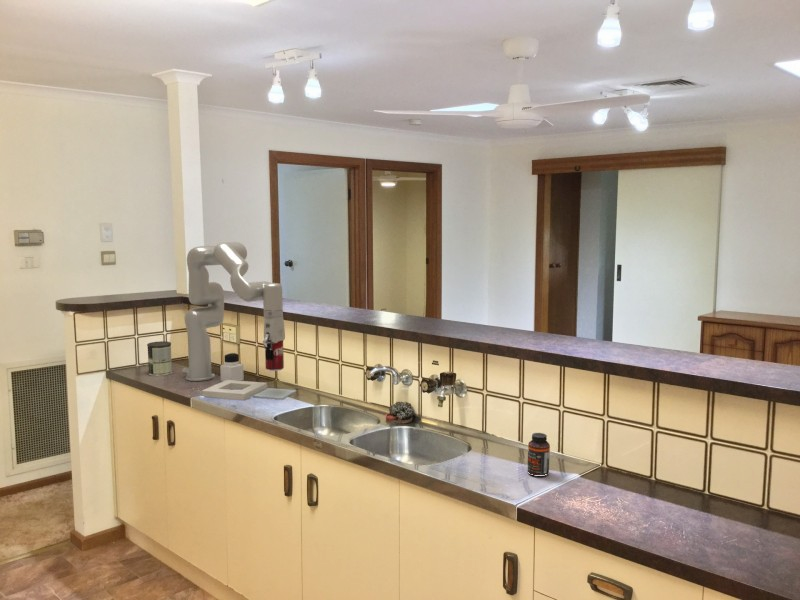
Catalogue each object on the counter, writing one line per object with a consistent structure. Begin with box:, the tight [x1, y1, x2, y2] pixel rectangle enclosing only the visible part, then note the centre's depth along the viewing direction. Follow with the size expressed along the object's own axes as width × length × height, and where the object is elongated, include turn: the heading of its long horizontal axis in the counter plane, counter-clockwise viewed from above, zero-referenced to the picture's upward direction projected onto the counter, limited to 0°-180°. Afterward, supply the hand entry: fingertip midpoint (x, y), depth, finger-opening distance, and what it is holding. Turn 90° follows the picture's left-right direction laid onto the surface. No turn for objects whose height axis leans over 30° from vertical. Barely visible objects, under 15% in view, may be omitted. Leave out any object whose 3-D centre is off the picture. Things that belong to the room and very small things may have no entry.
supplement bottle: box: [526, 432, 551, 475], centre depth 188 cm, size 6×6×11 cm
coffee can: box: [146, 340, 173, 377], centre depth 311 cm, size 10×10×14 cm
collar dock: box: [201, 380, 268, 401], centre depth 277 cm, size 19×19×2 cm
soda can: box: [264, 340, 285, 372], centre depth 272 cm, size 7×7×12 cm
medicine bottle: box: [219, 352, 245, 382], centre depth 297 cm, size 7×7×12 cm
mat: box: [252, 387, 298, 401], centre depth 274 cm, size 13×13×1 cm
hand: (274, 357), depth 272 cm, fingers closed on soda can, 7 cm apart
